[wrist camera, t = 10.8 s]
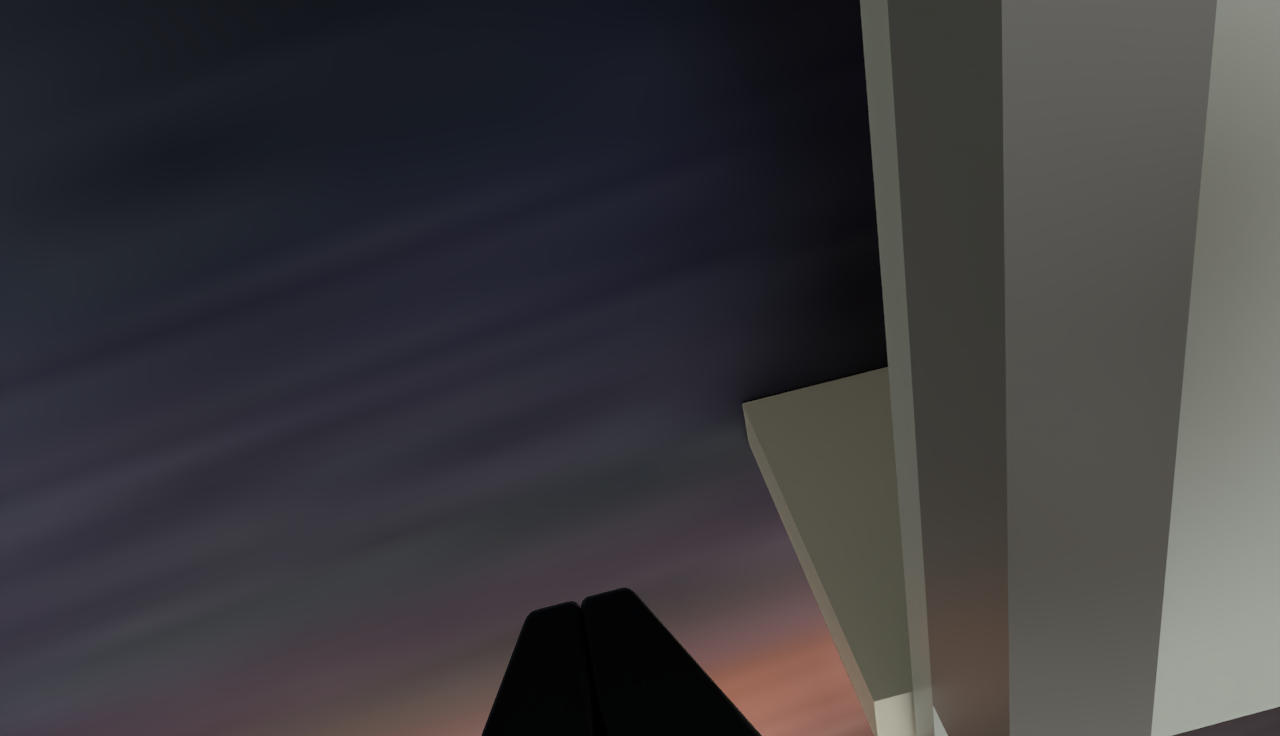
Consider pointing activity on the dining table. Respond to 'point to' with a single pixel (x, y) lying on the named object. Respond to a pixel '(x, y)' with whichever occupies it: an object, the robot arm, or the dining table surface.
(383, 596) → the dining table surface
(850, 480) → the housing
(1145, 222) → the lid
